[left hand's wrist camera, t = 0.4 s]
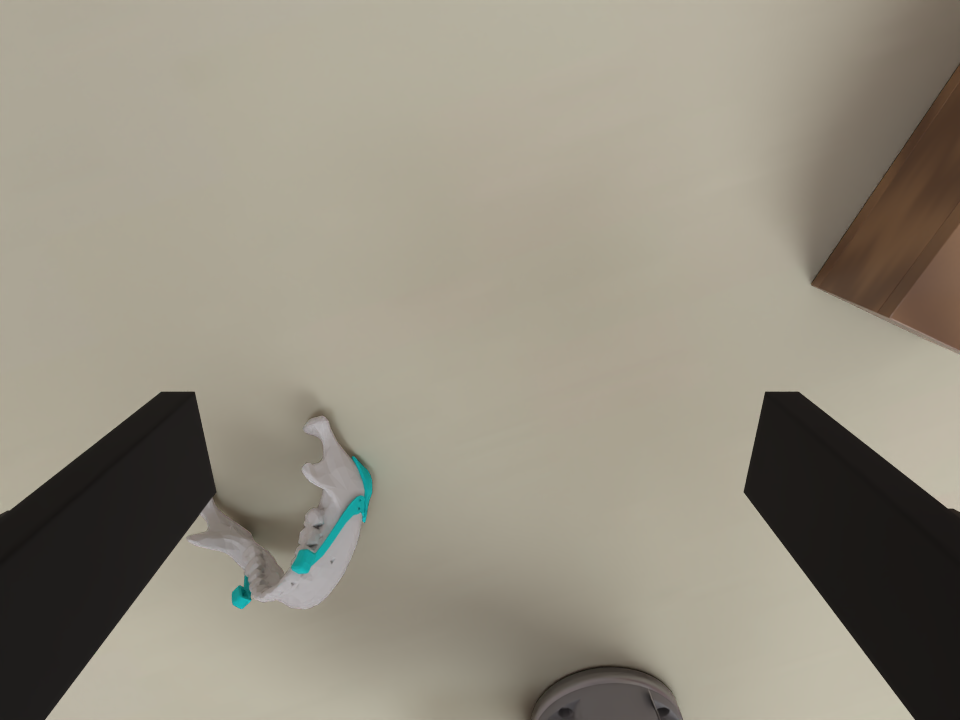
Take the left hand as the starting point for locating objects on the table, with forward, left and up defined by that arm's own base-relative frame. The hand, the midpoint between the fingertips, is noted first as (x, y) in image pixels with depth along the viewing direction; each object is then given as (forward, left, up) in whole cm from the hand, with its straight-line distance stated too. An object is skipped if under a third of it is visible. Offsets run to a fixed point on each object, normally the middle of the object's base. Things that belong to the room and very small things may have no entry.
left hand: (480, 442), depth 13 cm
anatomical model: (-21, +15, -28) cm, 38 cm away
